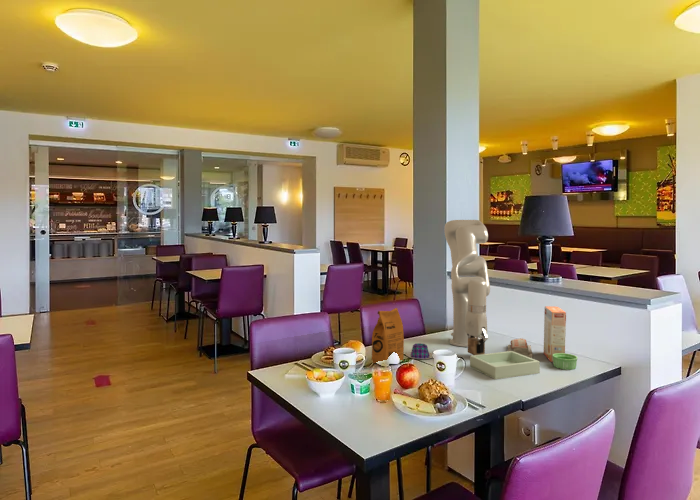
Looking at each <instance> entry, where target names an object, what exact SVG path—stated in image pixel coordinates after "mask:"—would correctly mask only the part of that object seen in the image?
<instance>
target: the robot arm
mask: <svg viewBox="0 0 700 500" xmlns="http://www.w3.org/2000/svg"><path fill="white" fill-rule="evenodd" d="M444 236H445V237H444V238H445V240H446V243H447V245H448V247H449V251H450V257H451V265H452V266H451V271H450V278H451V292H452V301H453V303H452V304H453V306H452V307H453V310H452V311H453V313H452V315H453V316H452V317H453V319H452V321H453V328H452V329H453V332H450V335H451V337H452V338H451V339H450V340H449V343H450V345H452V346H456V347H463V348H465V347H467V348H468V338H476V337H477V342H478V344H477V353H483V352H484V344H485V345H486V341H487V340H489V337H488V319H487V297H488V296H489V295H490V292H491V284H490V277H489V270H488V266H487V265H488V264H487V261H486V259H485V258H484V257H483V256H480V255H479V253H478V246H477V244H486V243H487V242H488V240H489V233H488V229H487V227H486V225H485V224H484V223H483V222H482V221H481V220H478V219H454V220H453V219H452V220H449V221H447V222H446V223H445V224H444ZM480 338H481V340H480Z"/></svg>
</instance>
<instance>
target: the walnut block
mask: <svg viewBox="0 0 700 500" xmlns="http://www.w3.org/2000/svg"><path fill="white" fill-rule="evenodd" d="M481 339H482V338H480V340H481ZM477 344H478V342H477V337H475V338H468V347H467V353H469V354H471V356H472V355H481V354H486V350H485V349H486V343H485V344H484V352H483V353H477Z"/></svg>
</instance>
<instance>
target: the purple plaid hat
mask: <svg viewBox="0 0 700 500" xmlns="http://www.w3.org/2000/svg"><path fill="white" fill-rule="evenodd" d="M432 354H433V353H432V352H430V351H429V348H428V345H427V344H426V343H421V342H420V343H415V344H413V345H412V348H411V351H408V352H407V353H405V356H406V357H408V358H411V359H415V360H428V359H432V358H433V357H432Z"/></svg>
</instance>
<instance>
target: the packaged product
mask: <svg viewBox="0 0 700 500" xmlns="http://www.w3.org/2000/svg"><path fill="white" fill-rule="evenodd" d="M507 351H513V352H516V353H519V354H521V355H524V356H527V357H529V358H532V359H533V356H534V354H533V350H532V346H531V345H530V344H528V343H527V339H525V338H515V339H511V340H510V344H507Z"/></svg>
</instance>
